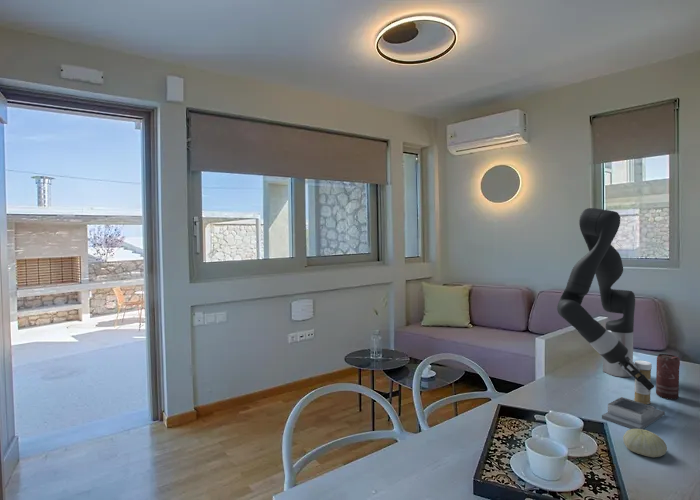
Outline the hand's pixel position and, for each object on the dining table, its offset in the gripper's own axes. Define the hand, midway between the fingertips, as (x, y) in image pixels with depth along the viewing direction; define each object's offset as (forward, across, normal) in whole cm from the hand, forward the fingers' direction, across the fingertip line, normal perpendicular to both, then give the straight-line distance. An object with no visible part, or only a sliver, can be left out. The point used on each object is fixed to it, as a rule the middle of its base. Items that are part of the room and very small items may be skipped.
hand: (647, 383), depth 137 cm
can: (+10, +8, -1) cm, 13 cm away
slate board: (-1, -13, +10) cm, 16 cm away
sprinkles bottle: (+4, 0, +6) cm, 7 cm away
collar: (-2, -15, +10) cm, 18 cm away
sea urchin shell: (-2, -34, +12) cm, 36 cm away
